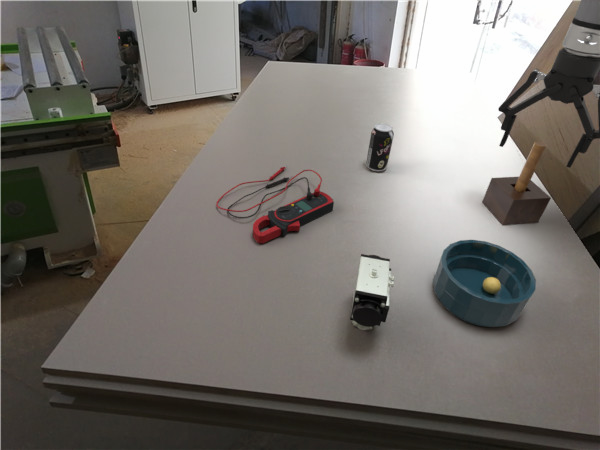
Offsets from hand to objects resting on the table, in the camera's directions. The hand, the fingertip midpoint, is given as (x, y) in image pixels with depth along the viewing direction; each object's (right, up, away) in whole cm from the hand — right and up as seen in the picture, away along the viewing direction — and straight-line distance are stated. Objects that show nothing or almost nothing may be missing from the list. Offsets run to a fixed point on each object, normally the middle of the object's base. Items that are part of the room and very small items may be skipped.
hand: (534, 154), depth 87 cm
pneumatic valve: (-40, -32, -18) cm, 54 cm away
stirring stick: (-1, -12, +9) cm, 15 cm away
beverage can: (-30, 0, +23) cm, 38 cm away
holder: (-1, -12, +9) cm, 15 cm away
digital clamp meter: (-56, -10, +8) cm, 58 cm away
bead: (-16, -26, -14) cm, 34 cm away
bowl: (-18, -28, -13) cm, 36 cm away
